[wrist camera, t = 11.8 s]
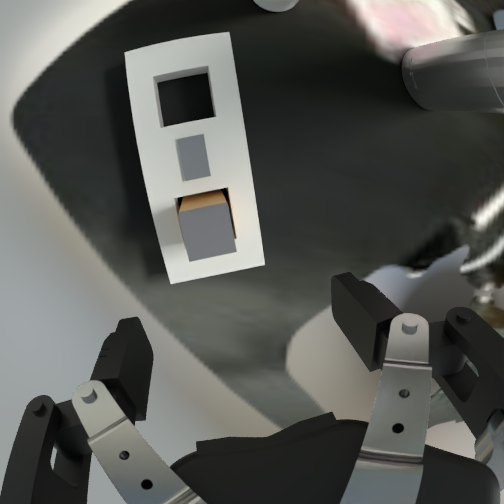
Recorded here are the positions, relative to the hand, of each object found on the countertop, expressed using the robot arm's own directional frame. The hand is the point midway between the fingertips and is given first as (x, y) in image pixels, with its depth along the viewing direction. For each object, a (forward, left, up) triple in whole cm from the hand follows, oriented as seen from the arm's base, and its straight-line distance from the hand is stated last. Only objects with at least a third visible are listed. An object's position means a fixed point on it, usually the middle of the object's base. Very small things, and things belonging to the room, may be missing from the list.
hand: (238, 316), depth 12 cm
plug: (+1, 0, -21) cm, 21 cm away
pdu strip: (+1, -6, -21) cm, 21 cm away
